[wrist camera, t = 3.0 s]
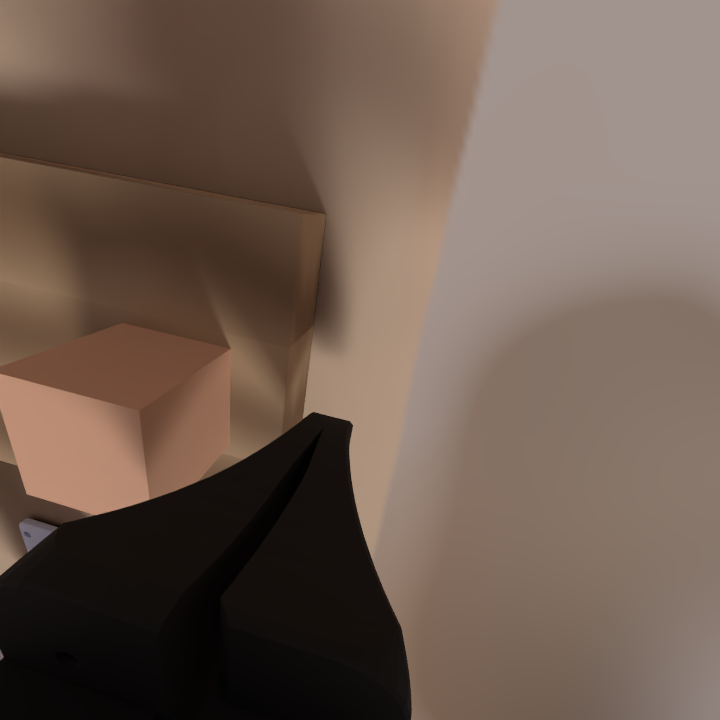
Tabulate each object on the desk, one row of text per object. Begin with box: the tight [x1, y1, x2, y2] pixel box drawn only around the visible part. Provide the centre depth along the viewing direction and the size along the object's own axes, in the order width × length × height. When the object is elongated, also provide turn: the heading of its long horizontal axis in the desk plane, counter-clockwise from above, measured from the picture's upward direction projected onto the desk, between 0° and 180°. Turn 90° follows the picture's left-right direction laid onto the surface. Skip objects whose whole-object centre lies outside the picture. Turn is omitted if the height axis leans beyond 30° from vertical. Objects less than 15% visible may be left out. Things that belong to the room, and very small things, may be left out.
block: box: [0, 323, 231, 515], centre depth 11 cm, size 4×4×4 cm
